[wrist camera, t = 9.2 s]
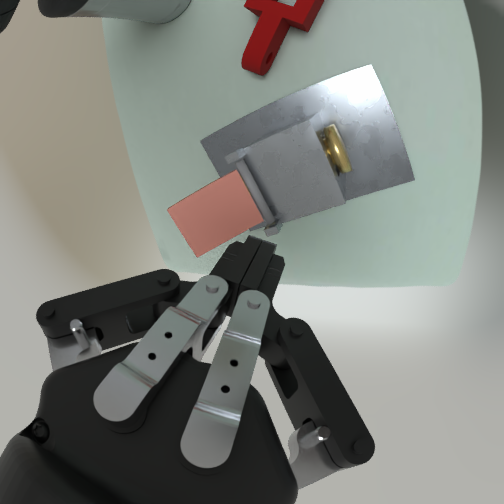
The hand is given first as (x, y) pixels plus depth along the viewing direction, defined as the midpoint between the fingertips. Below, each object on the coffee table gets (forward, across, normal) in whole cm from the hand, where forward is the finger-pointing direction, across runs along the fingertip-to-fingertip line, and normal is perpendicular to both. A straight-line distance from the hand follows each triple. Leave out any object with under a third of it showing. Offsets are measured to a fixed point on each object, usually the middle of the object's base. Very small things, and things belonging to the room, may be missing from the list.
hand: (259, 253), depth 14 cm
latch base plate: (+25, +1, +1) cm, 25 cm away
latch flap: (+12, +7, +6) cm, 15 cm away
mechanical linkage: (+25, +8, -16) cm, 31 cm away
